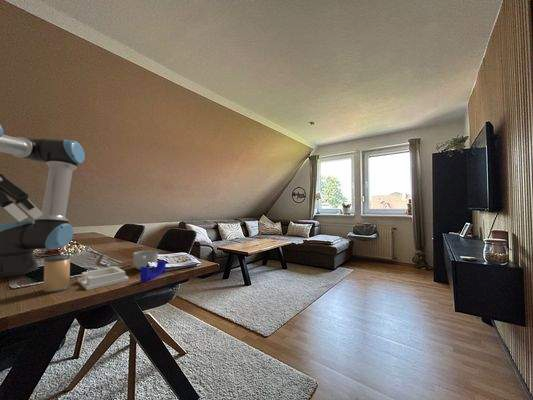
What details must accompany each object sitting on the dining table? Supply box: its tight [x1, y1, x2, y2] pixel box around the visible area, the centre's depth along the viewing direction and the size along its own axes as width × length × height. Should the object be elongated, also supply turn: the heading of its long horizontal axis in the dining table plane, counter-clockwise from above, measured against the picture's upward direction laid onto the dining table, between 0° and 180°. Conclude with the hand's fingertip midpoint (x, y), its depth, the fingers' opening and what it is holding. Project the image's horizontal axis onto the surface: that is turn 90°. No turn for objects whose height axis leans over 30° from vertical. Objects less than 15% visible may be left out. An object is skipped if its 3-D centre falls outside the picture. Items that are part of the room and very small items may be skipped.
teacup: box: [132, 250, 159, 271], centre depth 110 cm, size 14×11×8 cm
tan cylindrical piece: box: [43, 254, 71, 295], centre depth 83 cm, size 7×7×12 cm
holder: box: [77, 266, 130, 291], centre depth 93 cm, size 14×14×4 cm
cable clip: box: [139, 259, 167, 283], centre depth 98 cm, size 12×4×6 cm, turn 169°
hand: (31, 218), depth 80 cm, fingers open, 13 cm apart
